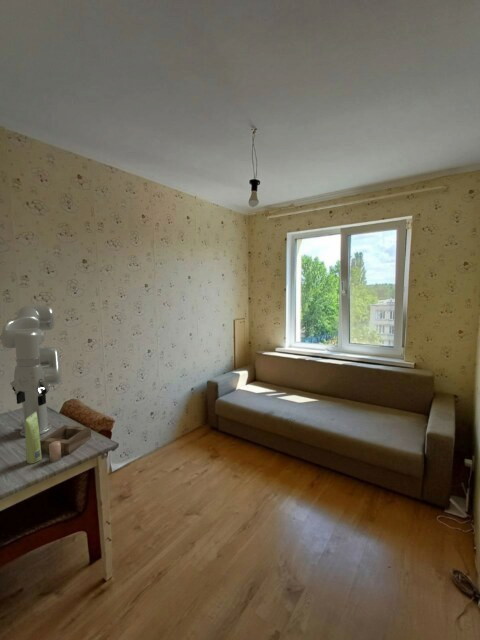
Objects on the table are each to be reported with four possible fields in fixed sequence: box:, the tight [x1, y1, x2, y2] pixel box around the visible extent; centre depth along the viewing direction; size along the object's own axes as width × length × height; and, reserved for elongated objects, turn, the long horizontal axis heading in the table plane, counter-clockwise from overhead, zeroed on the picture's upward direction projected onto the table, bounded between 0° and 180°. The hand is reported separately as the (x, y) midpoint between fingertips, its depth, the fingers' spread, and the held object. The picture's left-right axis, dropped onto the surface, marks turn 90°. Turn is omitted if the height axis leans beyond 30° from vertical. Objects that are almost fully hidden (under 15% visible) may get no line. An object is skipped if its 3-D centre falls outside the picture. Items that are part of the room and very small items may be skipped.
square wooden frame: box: [40, 424, 92, 455], centre depth 130 cm, size 14×14×5 cm
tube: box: [25, 412, 42, 464], centre depth 117 cm, size 6×5×20 cm
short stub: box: [48, 441, 62, 463], centre depth 119 cm, size 4×4×7 cm
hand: (31, 403), depth 116 cm, fingers open, 9 cm apart
